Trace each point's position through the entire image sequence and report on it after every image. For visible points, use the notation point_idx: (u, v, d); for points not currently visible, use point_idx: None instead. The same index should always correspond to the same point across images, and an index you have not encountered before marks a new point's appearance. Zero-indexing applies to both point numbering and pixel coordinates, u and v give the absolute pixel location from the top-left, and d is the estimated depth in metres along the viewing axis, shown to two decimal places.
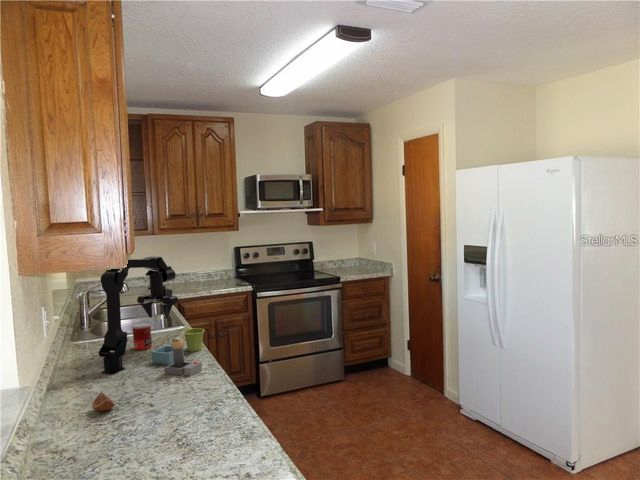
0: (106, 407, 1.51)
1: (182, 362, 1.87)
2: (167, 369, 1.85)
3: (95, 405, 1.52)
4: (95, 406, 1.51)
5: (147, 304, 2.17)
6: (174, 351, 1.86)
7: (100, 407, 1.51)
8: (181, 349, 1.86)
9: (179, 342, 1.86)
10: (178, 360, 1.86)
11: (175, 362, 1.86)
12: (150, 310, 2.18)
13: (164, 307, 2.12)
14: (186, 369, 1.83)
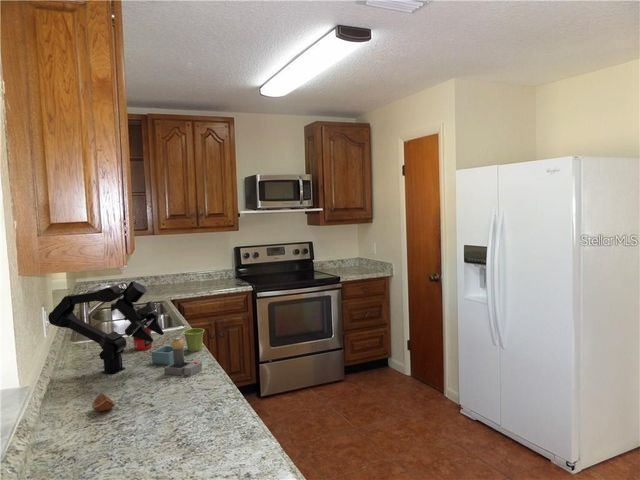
0: (106, 407, 1.51)
1: (182, 362, 1.87)
2: (167, 369, 1.85)
3: (95, 405, 1.52)
4: (95, 406, 1.51)
5: (150, 325, 1.94)
6: (174, 351, 1.86)
7: (100, 407, 1.51)
8: (181, 349, 1.86)
9: (179, 342, 1.86)
10: (178, 360, 1.86)
11: (175, 362, 1.86)
12: (157, 328, 1.93)
13: None
14: (186, 369, 1.83)
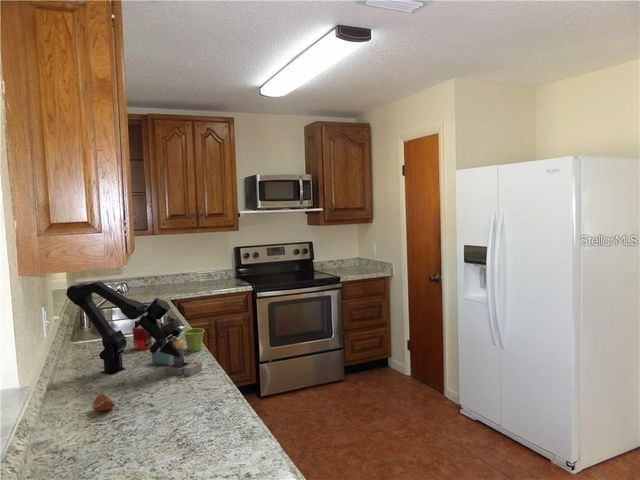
0: (106, 407, 1.51)
1: (182, 362, 1.87)
2: (167, 369, 1.85)
3: (95, 406, 1.52)
4: (95, 406, 1.51)
5: None
6: None
7: (100, 407, 1.51)
8: (181, 349, 1.86)
9: (179, 342, 1.86)
10: (178, 360, 1.86)
11: (175, 362, 1.86)
12: None
13: None
14: (186, 369, 1.83)
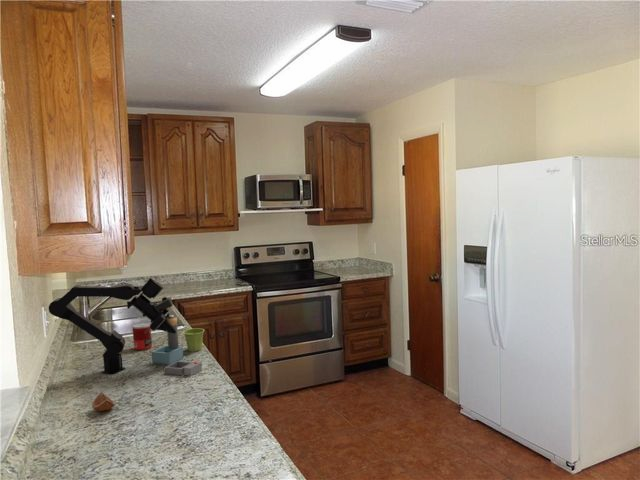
0: (106, 407, 1.51)
1: (177, 338, 1.96)
2: (167, 369, 1.85)
3: (95, 405, 1.52)
4: (95, 406, 1.51)
5: None
6: None
7: (100, 407, 1.51)
8: (176, 326, 1.96)
9: (174, 319, 1.95)
10: (173, 336, 1.95)
11: (170, 338, 1.95)
12: None
13: None
14: (186, 369, 1.83)
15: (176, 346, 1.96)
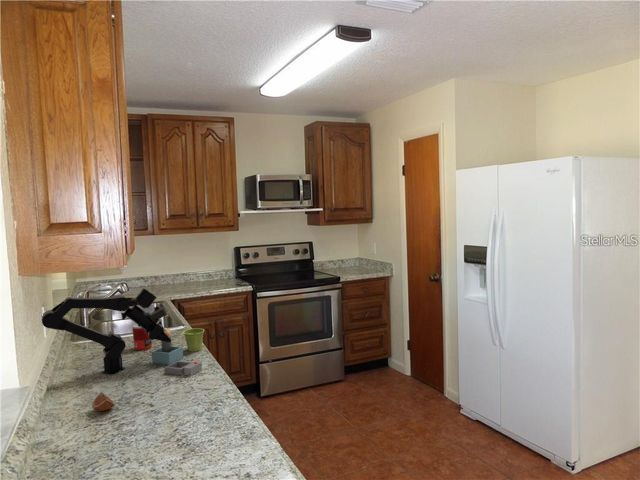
0: (106, 407, 1.51)
1: (171, 350, 2.01)
2: (167, 369, 1.85)
3: (95, 405, 1.52)
4: (95, 406, 1.51)
5: None
6: (164, 341, 1.99)
7: (100, 407, 1.51)
8: (170, 338, 2.00)
9: (169, 331, 1.99)
10: (168, 348, 1.99)
11: (165, 351, 1.99)
12: None
13: None
14: (186, 369, 1.83)
15: None
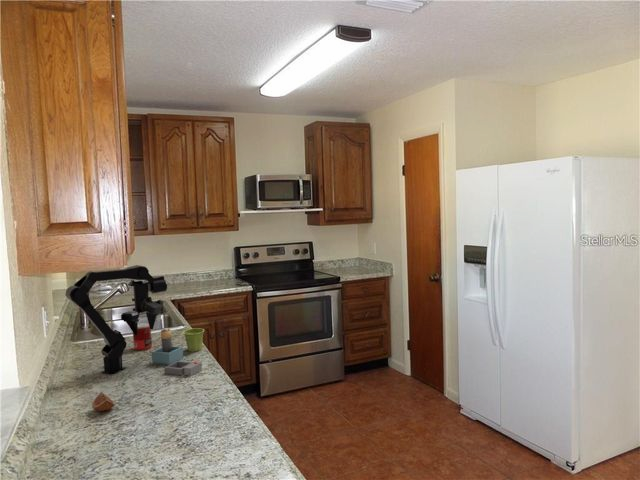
0: (106, 407, 1.51)
1: (171, 350, 2.01)
2: (167, 369, 1.85)
3: (95, 406, 1.52)
4: (95, 406, 1.51)
5: (149, 314, 2.04)
6: (164, 341, 1.99)
7: (100, 407, 1.51)
8: (170, 338, 2.00)
9: (169, 332, 2.00)
10: (168, 348, 1.99)
11: (166, 351, 1.99)
12: (151, 321, 2.04)
13: None
14: (186, 369, 1.83)
15: None
